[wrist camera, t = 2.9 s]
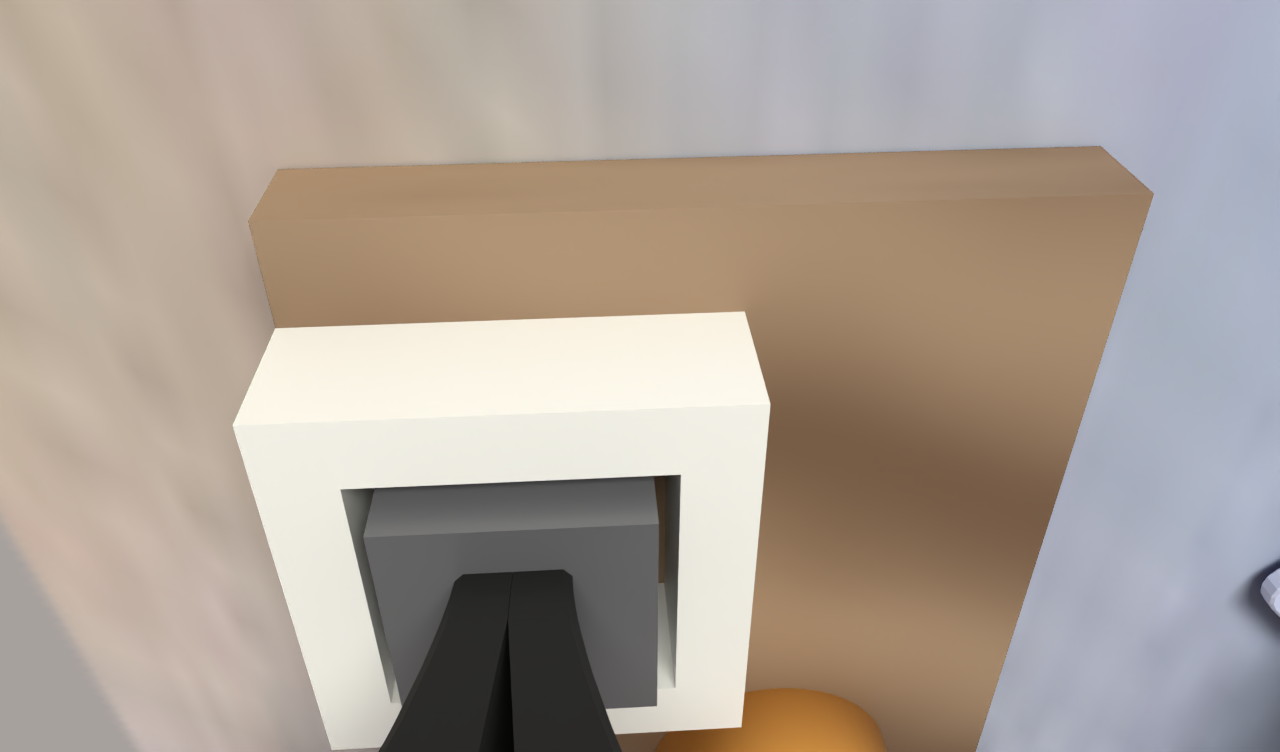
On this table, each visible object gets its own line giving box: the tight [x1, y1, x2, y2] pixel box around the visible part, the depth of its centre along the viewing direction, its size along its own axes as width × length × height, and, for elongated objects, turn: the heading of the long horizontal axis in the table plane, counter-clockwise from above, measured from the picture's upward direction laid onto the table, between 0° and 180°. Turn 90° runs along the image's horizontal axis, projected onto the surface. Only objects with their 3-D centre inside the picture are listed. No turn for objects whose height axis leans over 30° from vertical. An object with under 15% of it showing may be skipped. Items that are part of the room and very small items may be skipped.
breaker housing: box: [233, 312, 770, 750], centre depth 14 cm, size 6×6×2 cm
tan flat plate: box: [248, 146, 1154, 752], centre depth 19 cm, size 23×11×2 cm, turn 0°
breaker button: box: [363, 476, 659, 709], centre depth 13 cm, size 3×3×2 cm
